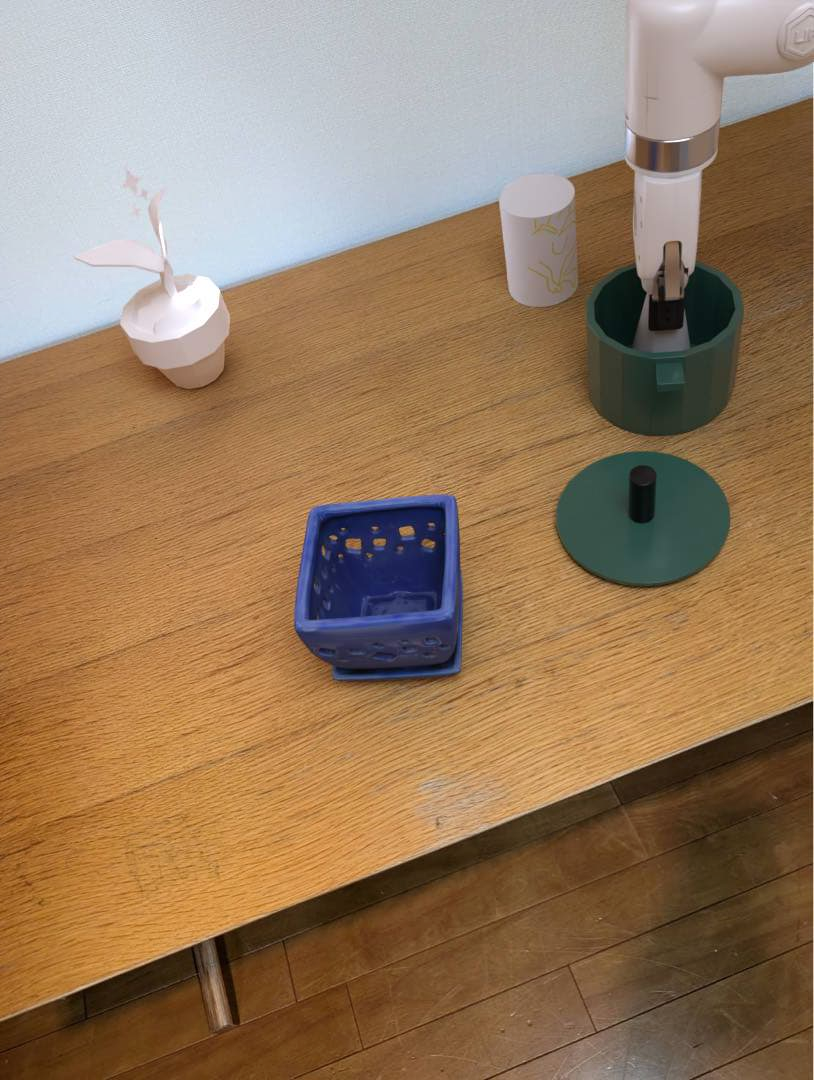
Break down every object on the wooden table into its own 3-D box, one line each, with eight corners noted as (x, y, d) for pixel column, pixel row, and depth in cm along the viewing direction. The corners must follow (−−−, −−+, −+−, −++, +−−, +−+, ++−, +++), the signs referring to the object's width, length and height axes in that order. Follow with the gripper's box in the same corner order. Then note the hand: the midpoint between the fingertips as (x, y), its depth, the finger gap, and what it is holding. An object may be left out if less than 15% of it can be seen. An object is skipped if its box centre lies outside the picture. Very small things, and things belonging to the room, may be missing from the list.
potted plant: (235, 326, 121) (162, 139, 102) (255, 385, 114) (181, 195, 95) (136, 361, 120) (44, 178, 101) (151, 422, 113) (54, 238, 94)
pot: (721, 316, 108) (729, 235, 100) (744, 452, 96) (756, 372, 88) (585, 326, 111) (583, 248, 103) (591, 460, 99) (589, 383, 91)
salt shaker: (620, 362, 103) (621, 259, 93) (668, 341, 104) (674, 237, 94) (651, 395, 100) (655, 292, 89) (700, 374, 100) (710, 268, 90)
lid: (719, 454, 97) (725, 406, 91) (739, 587, 87) (746, 542, 82) (555, 462, 99) (552, 416, 94) (557, 592, 90) (554, 549, 85)
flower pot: (335, 580, 95) (304, 501, 86) (473, 570, 93) (457, 488, 84) (324, 703, 87) (289, 631, 78) (474, 695, 85) (457, 620, 76)
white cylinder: (544, 316, 113) (537, 226, 104) (494, 289, 117) (483, 200, 108) (592, 279, 115) (590, 189, 106) (542, 254, 120) (535, 164, 111)
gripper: (619, 88, 87) (619, 260, 102) (630, 201, 77) (628, 373, 91) (707, 78, 86) (695, 253, 100) (730, 191, 76) (712, 368, 90)
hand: (663, 309), depth 96 cm, fingers closed on salt shaker, 4 cm apart
